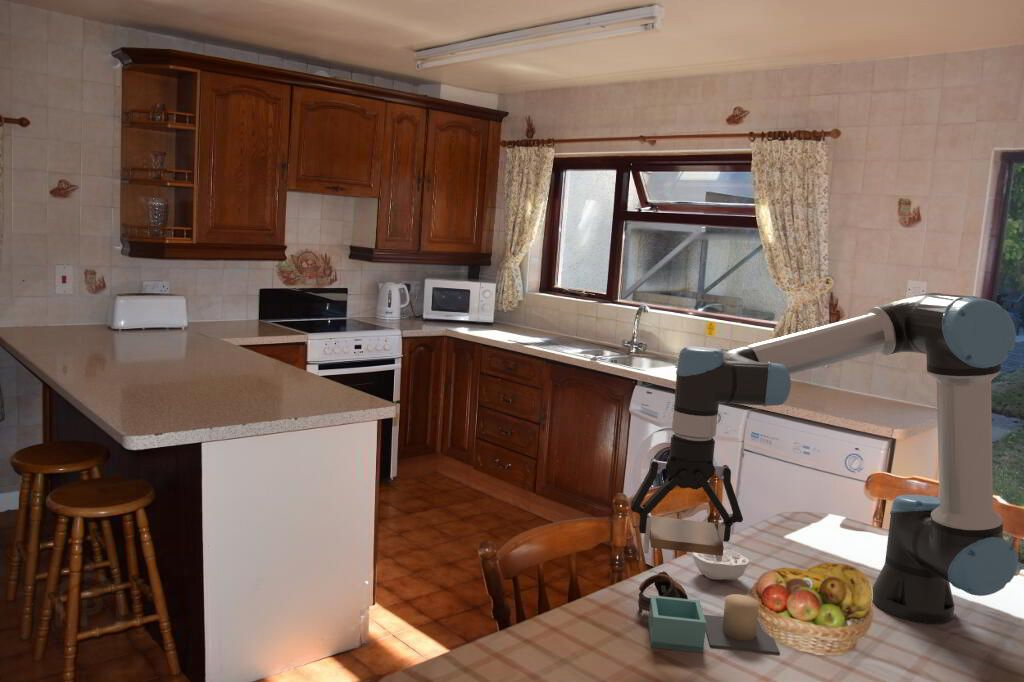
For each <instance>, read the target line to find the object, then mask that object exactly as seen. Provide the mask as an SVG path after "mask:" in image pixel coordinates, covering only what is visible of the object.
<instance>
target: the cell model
mask: <svg viewBox="0 0 1024 682" xmlns="http://www.w3.org/2000/svg"><path fill="white" fill-rule="evenodd" d="M691 553H692V556H693V557H692V558H693V560H694V563H695V566H696V568H697V569H698V571H699V573H701V574H702V575H704V576H705V577H706V578H708V579H710V580H716V581H717V580H718V581H721V580H722V581H723V580H727V581H734V580H738V579H739V578H741V577H742V576H743V575H744V573H745V572H746V570H747V567H749V564H750V562H751V561H750V559H749V558H747V557H746V556H744V555H742V554H741V553H739V552H736V551H734V550H730V549H727V548H724V549H723V556H722V561H717V559H716V556H715V555H710V554H702V553H693V552H691Z"/></svg>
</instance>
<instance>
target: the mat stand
mask: <svg viewBox="0 0 1024 682" xmlns="http://www.w3.org/2000/svg"><path fill="white" fill-rule="evenodd" d="M724 599H725V600H724V608H723V616H720V615H711V614H710V615H709V614H704V617H705V621H706V629H705V635H706V637H707V640H708V641H707V642H708V644H709V647H710V648H718V649H727V650H728V649H729V650H737V651H744V652H754V653H762V654H764V653H765V654H771V655H780V654H781V652H780V650H779V648H778V645H777V643H776V639H774V637H773V638H772V637H770V636H769V635H767V634H766V633H765V632H764V631H763V629H762V627H761V625H760V623H759V621H760V620H759V613H760V612H759V611H760V602H759V601H758V600H757V599H756V598H754V597H752V596H749V595H745V594H737V593H736V594H735V593H734V594H733V593H732V594H728V595H726V597H725V598H724ZM758 620H759V621H758Z"/></svg>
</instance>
